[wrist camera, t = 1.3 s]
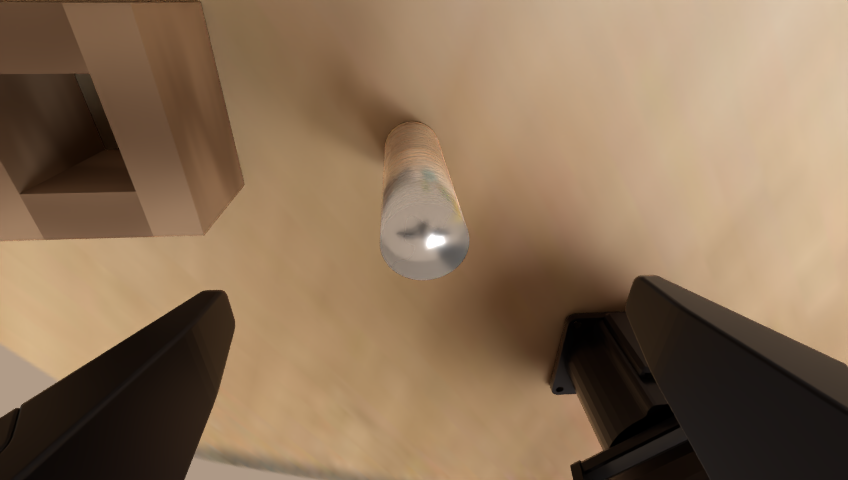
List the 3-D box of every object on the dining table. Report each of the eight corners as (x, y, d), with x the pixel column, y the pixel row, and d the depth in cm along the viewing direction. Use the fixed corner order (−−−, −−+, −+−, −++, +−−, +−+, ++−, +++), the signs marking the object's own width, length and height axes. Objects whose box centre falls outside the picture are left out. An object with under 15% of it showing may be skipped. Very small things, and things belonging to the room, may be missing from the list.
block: (244, 184, 18) (204, 235, 14) (79, 188, 18) (-9, 241, 14) (200, 2, 14) (130, 3, 10) (-8, 1, 14) (-161, 2, 10)
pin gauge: (438, 174, 18) (466, 278, 11) (386, 175, 18) (382, 281, 11) (440, 120, 17) (472, 202, 10) (383, 121, 17) (377, 204, 10)
